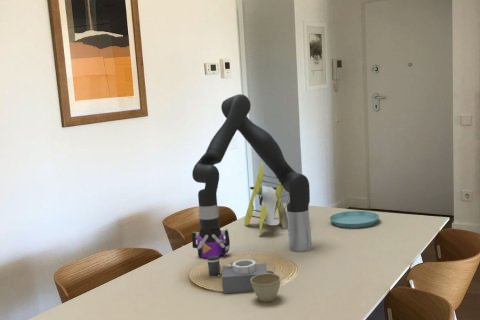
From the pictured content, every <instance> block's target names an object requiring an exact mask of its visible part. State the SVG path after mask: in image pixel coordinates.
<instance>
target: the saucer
mask: <svg viewBox="0 0 480 320" xmlns="http://www.w3.org/2000/svg"><path fill="white" fill-rule="evenodd" d="M379 218H380V215H379V214H378V213H376V212H371V211H366V210H365V211H364V210H350V211H341V212H337V213H335V214H331V216H330V217H329V221H330V222H331V223H332V224H333V225H335V226H336V227H339V228H343V229H344V228H345V229H360V228H367V227H370V226H373V225H374V224H375V223H377V222H378V221H379Z"/></svg>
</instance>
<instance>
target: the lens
mask: <svg viewBox="0 0 480 320" xmlns="http://www.w3.org/2000/svg"><path fill="white" fill-rule="evenodd" d="M206 261H207V267H208V268H207V269H208V276H209V275H210V276H217V277H219V276H218V275H220V274H221V275H222V272H221V264H220V256H209V257H208V258H207V260H206ZM221 275H220V276H221ZM210 276H209V277H210Z"/></svg>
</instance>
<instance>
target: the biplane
mask: <svg viewBox="0 0 480 320" xmlns="http://www.w3.org/2000/svg"><path fill="white" fill-rule="evenodd" d="M263 165H264V164H263V161H261V162H260V166H259V170H258V172H257V176H256V180H255V183H254V186H250V187H249V189H250V190H252V193H251V196H250V200H249V204H248V207H247V210H246V213H245V217H244V225H245V226H248V225H250V222H251V218H257V219H259V231H258V235H259V236H258V237H259V238H260V236H261V233H262V229H263V225H264V223H265V224H266V225H268V226H278V225H279V224H281V227H282V228H283V229H288V217H287V210H286V209H287V204H288V203H289V200H290V193H289V192H288V193H286V191H284V192H283V190H284V188H283V186H282V185H281V183H280V181H279V180H278V178H277V177H276V176H272V175H268V174H264V166H263ZM266 178H271V179H276V180H278V182H275V181H268V180H266ZM262 183H267V184H273V185H277V186H276V187H271V186H268V185H262ZM282 193H283V195H282ZM256 195H258V199H259V206H261V210H259V209H255V206H254V201H255V196H256ZM286 196H288V197H287V198H284V197H286ZM283 198H284V201H283ZM285 201H287V202H286V204H285V206H284V203H285ZM283 202H284V203H283ZM276 211H277V212H278V217H275V215H276ZM254 212H258V215H259V216H258V215H253V214H254ZM274 217H275V218H274ZM278 219H279V220H278Z"/></svg>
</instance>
